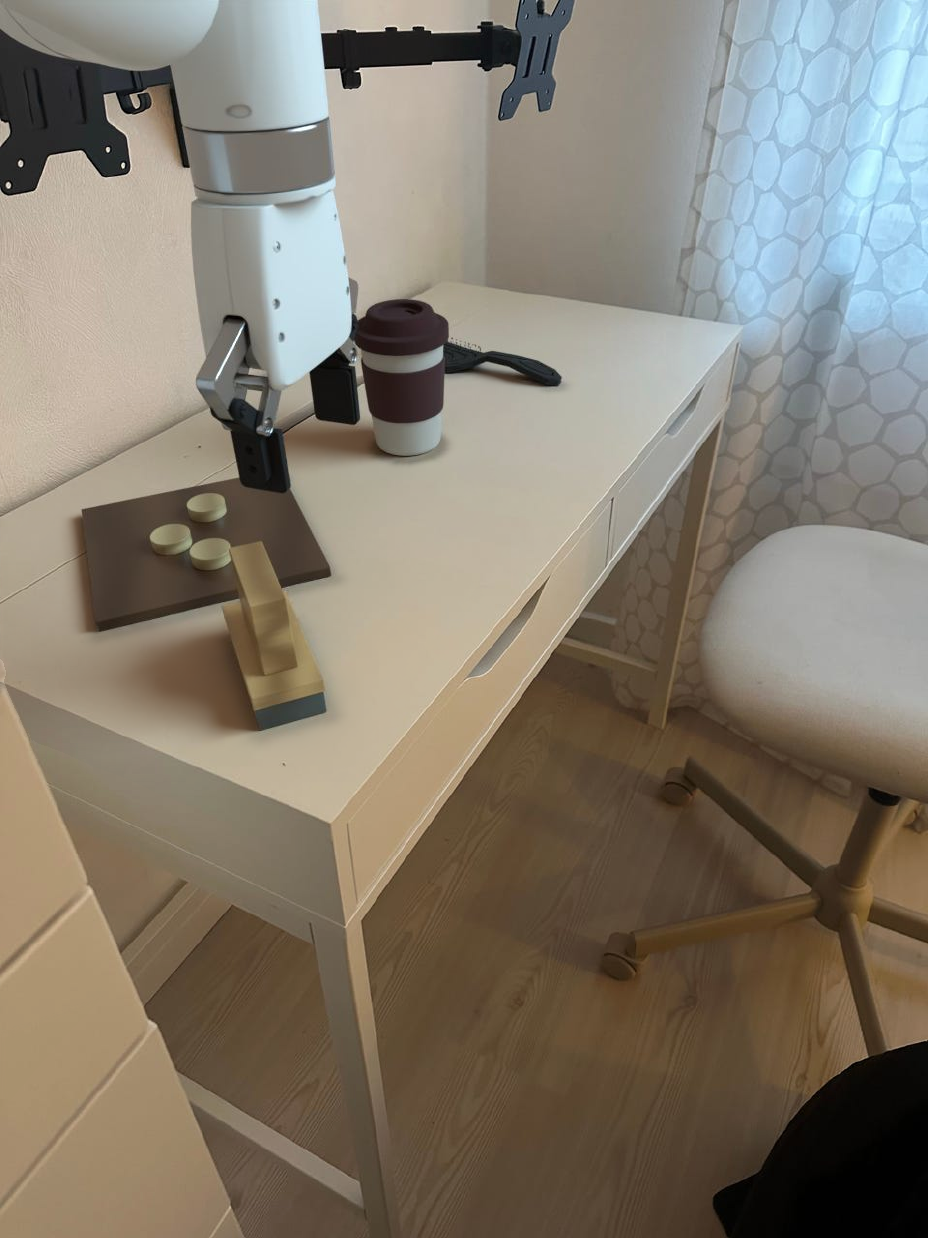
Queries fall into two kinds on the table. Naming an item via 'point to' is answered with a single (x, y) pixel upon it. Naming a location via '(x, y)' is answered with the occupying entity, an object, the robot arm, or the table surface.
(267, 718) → the brush
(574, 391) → the table surface
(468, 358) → the hairbrush
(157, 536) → the disc
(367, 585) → the table surface
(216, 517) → the token
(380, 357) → the coffee cup
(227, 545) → the token
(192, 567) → the tray
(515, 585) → the table surface
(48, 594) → the table surface
